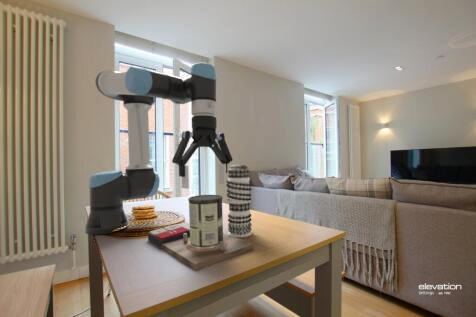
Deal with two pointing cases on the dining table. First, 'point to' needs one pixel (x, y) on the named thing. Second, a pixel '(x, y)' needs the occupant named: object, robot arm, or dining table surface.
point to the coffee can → (205, 221)
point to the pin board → (206, 251)
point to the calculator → (168, 234)
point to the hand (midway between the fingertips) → (205, 186)
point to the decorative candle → (239, 201)
